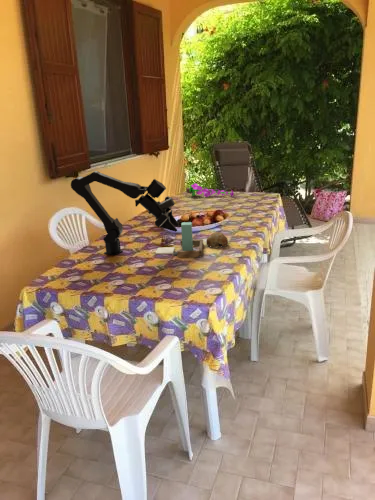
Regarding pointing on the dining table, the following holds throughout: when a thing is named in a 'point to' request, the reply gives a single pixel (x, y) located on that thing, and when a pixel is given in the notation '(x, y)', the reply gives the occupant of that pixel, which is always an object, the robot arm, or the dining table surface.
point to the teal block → (187, 236)
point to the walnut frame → (192, 253)
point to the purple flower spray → (205, 191)
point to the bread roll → (217, 240)
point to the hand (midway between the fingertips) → (177, 228)
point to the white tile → (165, 250)
